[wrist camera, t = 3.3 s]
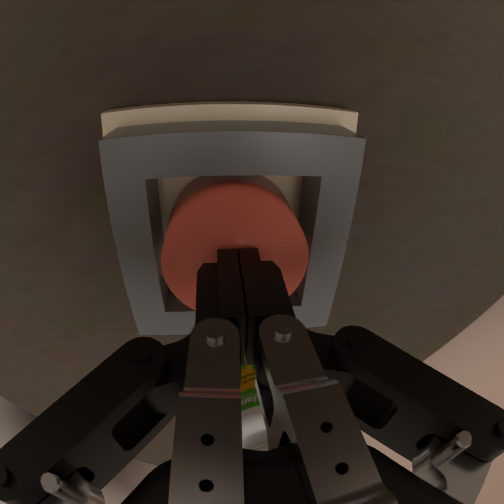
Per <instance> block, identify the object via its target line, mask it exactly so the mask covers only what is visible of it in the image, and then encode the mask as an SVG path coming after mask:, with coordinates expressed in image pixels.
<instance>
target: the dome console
mask: <svg viewBox="0 0 504 504" xmlns="http://www.w3.org/2000/svg"><path fill="white" fill-rule="evenodd" d="M101 120H102V132H103V137H102V138H101V139H100V140H98V142H99V151H100V159H101V166H102V174H103V180H104V187H105V193H106V199H107V205H108V210H109V216H110V221H111V226H112V231H113V236H114V241H115V245H116V250H117V254H118V259H119V263H120V267H121V271H122V275H123V279H124V283H125V287H126V291H127V294H128V298H129V302H130V305H131V309H132V312H133V316H134V319H135V322H136V326H137V329H138V332H139V335H189V334H190V333H191V331H192V329H193V328H194V326H195V312H196V311H195V310H193V309H192V308H190V307H188V306H187V305H185V304H184V303H182V302H181V301H180V300H179V299H178V298H177V297H176V296H175V295H174V294H173V293H172V291H171V290H170V288H169V287H168V285H167V283H166V281H165V279H164V276H163V272H162V268H161V252H162V248H163V243H164V239H165V235H166V231H167V227H168V222H169V218H170V215H171V211H172V207H173V205H174V203H175V201H176V199H177V197H178V196H179V194H180V193H181V192H182V191H183V189H184V188H185V187H186V186H187V185H189V184H190V183H191V182H192V181H194V180H195V179H197V178H198V177H200V176H231V175H262V176H264V177H266V178H267V179H269V180H270V181H272V182H273V183H274V184H275V185H276V186H277V187H278V188H279V189H280V190H281V191H282V193H283V194H284V196H285V198H286V199H287V201H288V203H289V205H290V207H291V209H292V211H293V213H294V215H295V217H296V219H297V221H298V223H299V225H300V227H301V229H302V231H303V233H304V235H305V238H306V241H307V245H308V254H309V256H308V264H307V268H306V272H305V274H304V277H303V279H302V281H301V282H300V284H299V286H298V287H297V288H296V289H295V291H294V292H293V293H292V294H291V295H290V296H289V297H290V301H291V304H292V307H293V310H294V313H295V317H296V318H297V319H298V320H300V321H301V322H302V323H303V324H304V326H305V328H309V327H319V326H326V325H327V321H328V318H329V314H330V311H331V307H332V303H333V299H334V296H335V292H336V288H337V284H338V280H339V276H340V272H341V268H342V263H343V259H344V255H345V251H346V246H347V242H348V237H349V232H350V228H351V223H352V218H353V213H354V208H355V203H356V198H357V192H358V187H359V181H360V175H361V170H362V163H363V157H364V151H365V144H366V138H364V137H362V136H360V135H358V134H357V133H356V128H357V120H358V112H355V111H352V110H350V109H345V108H337V107H328V106H319V105H308V104H295V103H278V102H252V101H210V102H184V103H167V104H155V105H144V106H134V107H126V108H118V109H110V110H108V111H105V112H103V113H101Z"/></svg>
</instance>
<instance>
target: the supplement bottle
mask: <svg viewBox="0 0 504 504" xmlns="http://www.w3.org/2000/svg"><path fill="white" fill-rule="evenodd" d="M255 375H256V374H255V368H254V365H247V363H246V356H245V365H241V382H240V390H241V413H242V448H245V449H252V450H260V451H268V450H269V449H268V441H267V431H266V427H265V423H264V419H263V415H262V411H261V407H260V403H259V399H258V395H257V391H256V387H255Z"/></svg>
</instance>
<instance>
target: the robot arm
mask: <svg viewBox="0 0 504 504" xmlns="http://www.w3.org/2000/svg"><path fill="white" fill-rule="evenodd" d="M245 356H246V363H247V365H254V368H255V374H256V375H255V387H256V391H257V395H258V399H259V403H260V407H261V411H262V415H263V419H264V423H265V427H266V431H267V441H268V449H269V450H268V451H260V450H252V449H245V448H242V413H241V390H240V382H241V365H245ZM175 415H176V420H175V429H174V439H173V450H172V459H170V460H168V461H166V462H164V463H162V464H161V465H159V466H158V467H156V468H155V469H154V470H152V471H151V472H150V473H149V474H148V475H147V476H146V477H145V478H144V479H143V480H142V481H141V483H140V484H139V485H138V486H137V487H136V488H135V489H134V490H133V491H132V492H131V493H130V494H129V496H128V497H127V498H126V499H125V500H124V501H123V502H122V503H121V504H474V503H475V501H476V499H477V496H478V494H479V492H480V490H481V488H482V485H483V483H484V481H485V478H486V476H487V473H488V471H489V468H490V465H491V463H492V461H493V460H494V459H495V458H496V457H498V456H499V455H500V454H502V453H503V452H504V409H502V408H500V407H499V406H497V405H495V404H493V403H492V402H490V401H488V400H487V399H485V398H483V397H481V396H480V395H478V394H476V393H475V392H473V391H471V390H469V389H467V388H466V387H464V386H463V385H461V384H459V383H457V382H456V381H454V380H452V379H451V378H449V377H447V376H445V375H444V374H442V373H440V372H439V371H437V370H435V369H433V368H432V367H430V366H428V365H427V364H425V363H423V362H422V361H420V360H418V359H417V358H415V357H413V356H411V355H410V354H408V353H406V352H405V351H403V350H401V349H400V348H398V347H396V346H394V345H393V344H391V343H389V342H388V341H386V340H384V339H383V338H381V337H379V336H378V335H376V334H374V333H373V332H371V331H369V330H367V329H365V328H363V327H360V326H346V327H343V328H341V329H340V330H338V331H337V333H336V334H335V336H333V335H326V334H319V333H315V332H312V331H310V330H308V329H306V328H305V326H304V324H303V323H302V322H301V321H300V320H298V319H297V318H296V317H295V313H294V310H293V307H292V304H291V301H290V297H289V294H288V291H287V288H286V285H285V281H284V280H283V275H282V272H281V269H280V268H279V267H278V266H277V265H276V264H275V263H274V262H273V261H272V260H270V261H261V259H260V254H259V250H258V248H238V255H237V249H236V248H232V249H217V263H203V264H202V265H201V267H200V268H199V270H198V271H197V284H196V312H195V326H194V328H193V329H192V331H191V333H190V334H189V335H188V336H187V337H185V338H184V339H182V340H180V341H177V342H174V343H171V344H167V345H164V346H163V345H162V344H161V343H160V342H159V341H157V340H155V339H153V338H149V337H138V338H134V339H132V340H130V341H128V342H126V343H125V344H124V345H123V346H121V347H120V348H119V349H118V350H117V351H115V352H114V353H113V354H112V355H111V356H109V357H108V358H107V359H106V360H105V361H103V362H102V363H101V364H100V365H99V366H97V367H96V368H95V369H94V370H93V371H91V372H90V373H89V374H88V375H87V376H85V377H84V378H83V379H82V380H81V381H79V382H78V383H77V384H76V385H75V386H74V387H72V388H71V389H70V390H69V391H68V392H66V393H65V394H64V395H63V396H62V397H60V398H59V399H58V400H57V401H56V402H55V403H53V404H52V405H51V406H50V407H49V408H47V409H46V410H45V411H44V412H43V413H42V414H40V415H39V416H38V417H37V418H36V419H34V420H33V421H32V422H31V423H30V424H29V425H28V426H26V427H25V428H24V429H23V430H22V431H20V432H19V433H18V434H17V435H16V436H15V437H13V438H12V439H11V440H10V441H9V442H8V443H6V444H5V445H4V446H3V447H2V448H1V449H0V500H1V501H3V502H5V503H7V504H105V500H104V496H103V494H102V492H101V489H102V488H103V487H105V486H106V485H107V484H108V483H109V482H110V481H111V480H112V479H113V478H114V477H115V476H116V475H117V474H118V473H119V472H120V471H121V470H122V469H123V468H124V467H125V466H126V465H127V464H128V463H129V462H130V461H131V460H132V459H133V458H134V457H135V456H136V455H137V454H138V453H139V452H140V451H141V450H142V449H143V448H144V447H145V446H146V445H147V444H148V443H149V442H150V441H151V440H152V439H153V438H154V437H155V436H156V435H157V434H158V433H159V432H160V431H161V430H162V429H163V428H164V427H165V426H166V425H167V424H168V423H169V422H170V421H171V420H172V419H173V417H174V416H175ZM361 430H362V431H363V432H365V433H366V434H368V435H370V436H371V437H373V438H374V439H376V440H377V441H379V442H380V443H382V444H383V445H385V446H387V447H388V448H390V449H392V450H393V451H395V452H396V453H398V454H400V455H402V456H403V457H405V458H406V459H408V460H410V461H411V462H413V463H412V467H413V470H412V472H410V471H408V470H407V469H406V468H404V467H402V466H401V465H399V464H398V463H396V462H395V461H393V460H392V459H390V458H389V457H387V456H386V455H384V454H383V453H381V452H380V451H378V450H377V449H375V448H373V447H371V446H369V445H367V444H366V442H365V439H364V437H363V435H362V433H361Z"/></svg>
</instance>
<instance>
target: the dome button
mask: <svg viewBox="0 0 504 504" xmlns="http://www.w3.org/2000/svg"><path fill="white" fill-rule="evenodd" d="M232 248H236V249H237V255H238V248H258V250H259V254H260V259H261V261H270V260H272V261H273V262H274V263H275V264H276V265H277V266H278V267H279V268H280V269H281V272H282V275H283V280H284V281H285V285H286V288H287V291H288V294H289V296H290V295H291V294H292V293H293V292H294V291H295V289H296V288H297V287H298V286H299V284H300V282H301V281H302V279H303V277H304V274H305V272H306V268H307V264H308V256H309V254H308V245H307V241H306V238H305V235H304V233H303V231H302V229H301V227H300V225H299V223H298V221H297V219H296V217H295V215H294V213H293V211H292V209H291V207H290V205H289V203H288V201H287V199H286V198H285V196H284V194H283V193H282V191H281V190H280V189H279V188H278V187H277V186H276V185H275V184H274V183H273V182H272V181H270V180H269V179H267V178H266V177H264V176H262V175H231V176H200V177H198V178H197V179H195V180H194V181H192V182H191V183H190V184H189V185H187V186H186V187H185V188H184V189H183V191H182V192H181V193H180V194H179V196H178V197H177V199H176V201H175V203H174V205H173V207H172V211H171V215H170V218H169V222H168V227H167V231H166V235H165V239H164V243H163V248H162V252H161V268H162V272H163V276H164V279H165V281H166V283H167V285H168V287H169V288H170V290H171V291H172V293H173V294H174V295H175V296H176V297H177V298H178V299H179V300H180V301H181V302H182V303H184V304H185V305H187V306H188V307H190V308H192V309H193V310H195V311H196V284H197V271H198V270H199V268H200V267H201V265H202V264H203V263H217V249H232Z"/></svg>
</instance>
